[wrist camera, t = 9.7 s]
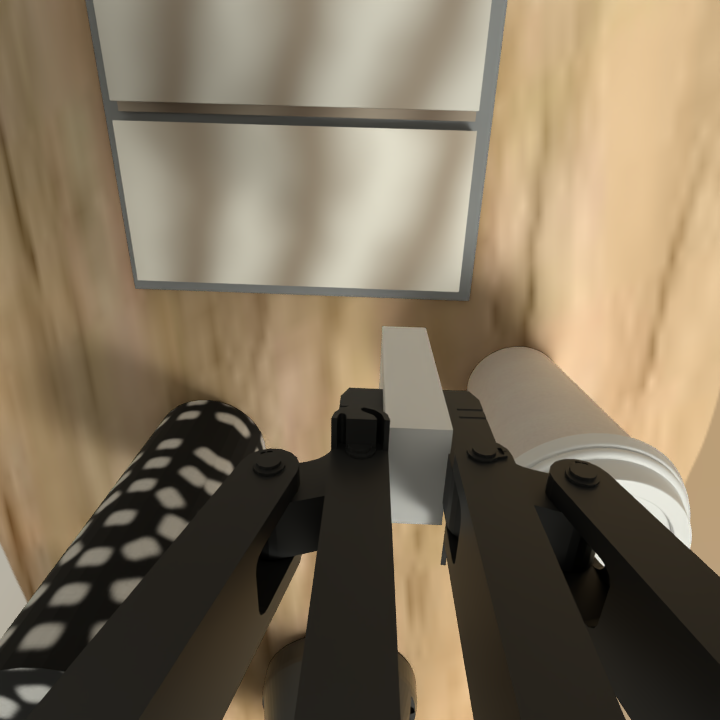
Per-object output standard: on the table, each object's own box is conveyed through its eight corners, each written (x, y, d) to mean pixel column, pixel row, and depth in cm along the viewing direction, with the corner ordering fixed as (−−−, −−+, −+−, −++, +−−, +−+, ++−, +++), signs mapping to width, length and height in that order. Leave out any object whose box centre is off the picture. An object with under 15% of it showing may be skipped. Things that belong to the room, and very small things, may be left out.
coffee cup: (432, 343, 34) (467, 488, 20) (575, 310, 32) (715, 440, 19) (458, 455, 38) (503, 639, 24) (587, 429, 36) (711, 608, 23)
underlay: (137, 287, 33) (135, 288, 33) (65, -132, 24) (62, -135, 24) (468, 299, 32) (469, 300, 32) (521, -123, 23) (523, -126, 23)
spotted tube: (253, 394, 36) (126, 662, 18) (275, 485, 40) (187, 785, 22) (144, 404, 37) (-82, 672, 19) (175, 492, 40) (9, 789, 22)
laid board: (121, 111, 28) (111, 110, 27) (82, -134, 24) (68, -147, 23) (474, 121, 28) (477, 121, 27) (501, -127, 23) (507, -139, 22)
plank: (146, 275, 32) (137, 280, 31) (122, 120, 28) (112, 120, 27) (456, 286, 31) (458, 292, 30) (473, 131, 28) (477, 131, 27)
